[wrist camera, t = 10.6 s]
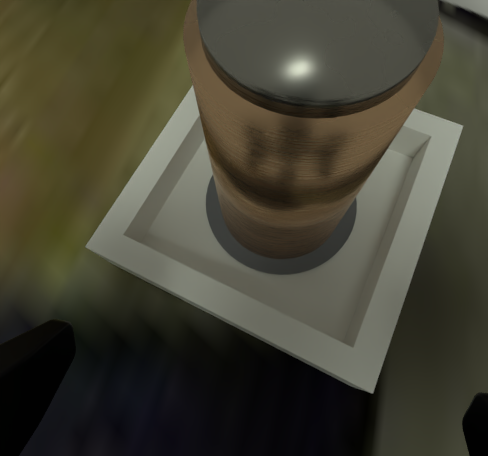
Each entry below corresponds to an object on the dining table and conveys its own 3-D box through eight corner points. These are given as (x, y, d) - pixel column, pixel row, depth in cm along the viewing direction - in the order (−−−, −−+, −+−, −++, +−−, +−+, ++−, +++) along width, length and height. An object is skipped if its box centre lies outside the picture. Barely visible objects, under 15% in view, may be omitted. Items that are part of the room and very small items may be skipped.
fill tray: (432, 158, 19) (463, 125, 17) (351, 386, 16) (372, 393, 13) (226, 80, 22) (222, 40, 19) (111, 263, 18) (84, 246, 15)
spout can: (335, 268, 16) (475, 123, 6) (210, 249, 17) (143, 86, 7) (346, 126, 19) (456, -142, 9) (237, 113, 19) (220, -155, 9)
